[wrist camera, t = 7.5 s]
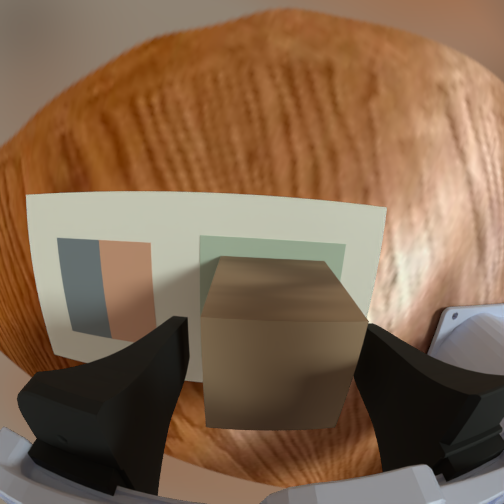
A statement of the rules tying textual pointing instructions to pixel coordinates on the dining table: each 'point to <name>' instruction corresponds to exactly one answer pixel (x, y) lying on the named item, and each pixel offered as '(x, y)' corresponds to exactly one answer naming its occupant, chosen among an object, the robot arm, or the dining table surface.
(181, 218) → the placemat
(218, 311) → the walnut block
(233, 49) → the dining table surface
